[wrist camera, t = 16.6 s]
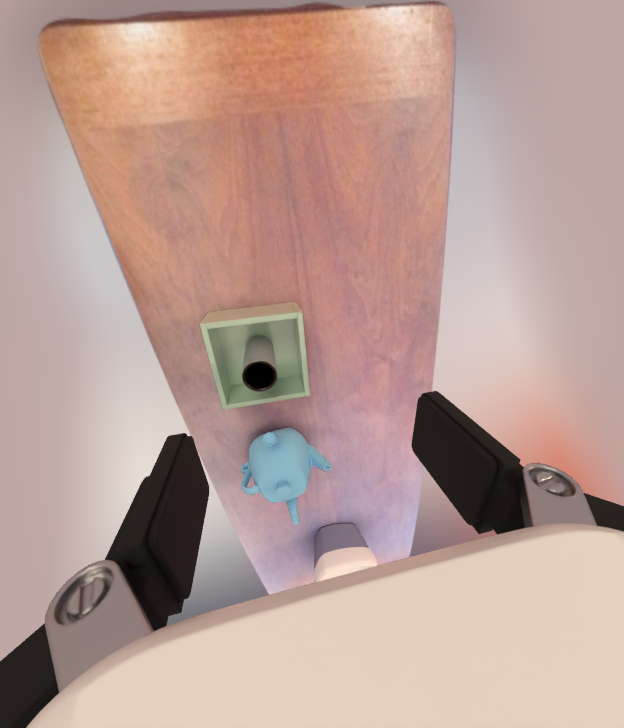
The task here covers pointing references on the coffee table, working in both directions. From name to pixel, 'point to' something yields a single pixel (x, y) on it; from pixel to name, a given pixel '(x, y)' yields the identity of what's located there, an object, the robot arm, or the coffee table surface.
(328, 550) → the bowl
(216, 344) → the green open box
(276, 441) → the teapot
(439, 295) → the coffee table surface
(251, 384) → the grey hollow cylinder
